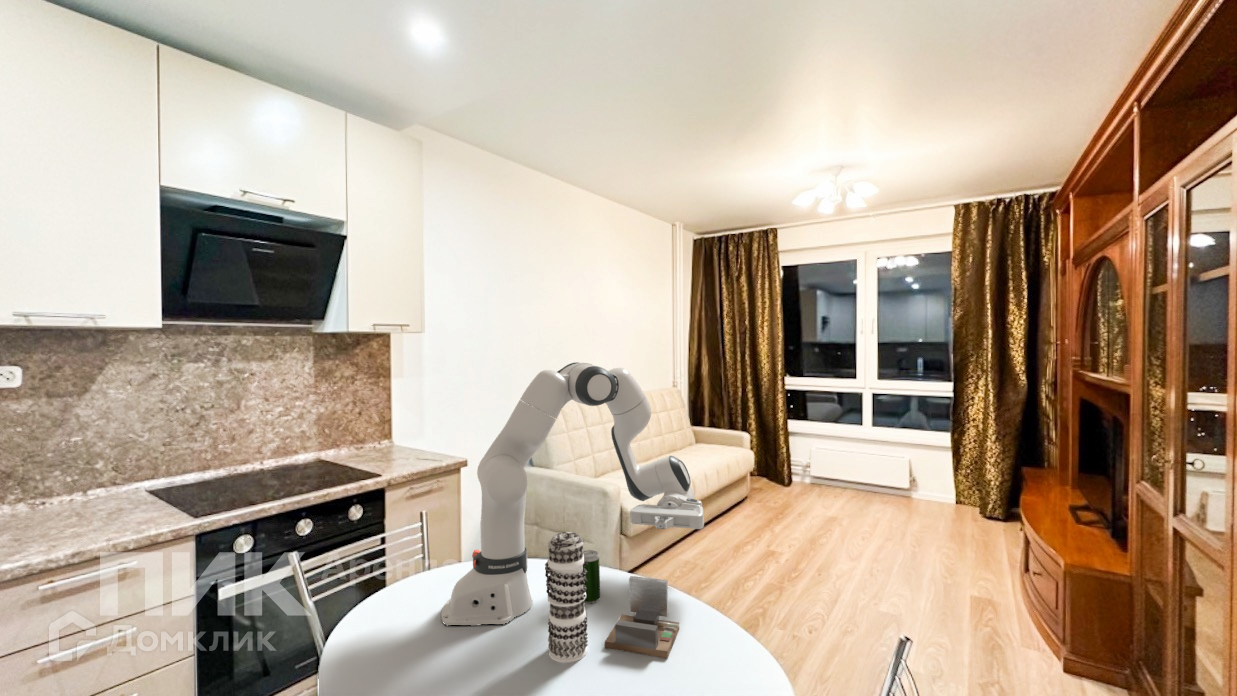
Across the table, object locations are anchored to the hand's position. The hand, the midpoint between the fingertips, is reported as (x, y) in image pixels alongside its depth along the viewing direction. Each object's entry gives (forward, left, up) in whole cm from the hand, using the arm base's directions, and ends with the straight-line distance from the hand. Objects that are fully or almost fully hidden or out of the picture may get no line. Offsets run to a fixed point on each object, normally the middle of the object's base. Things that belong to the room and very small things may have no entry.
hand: (660, 526), depth 133 cm
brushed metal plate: (-6, -14, -17) cm, 23 cm away
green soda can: (-18, +5, -19) cm, 27 cm away
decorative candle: (-26, -17, -19) cm, 37 cm away
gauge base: (-9, -16, -19) cm, 27 cm away
